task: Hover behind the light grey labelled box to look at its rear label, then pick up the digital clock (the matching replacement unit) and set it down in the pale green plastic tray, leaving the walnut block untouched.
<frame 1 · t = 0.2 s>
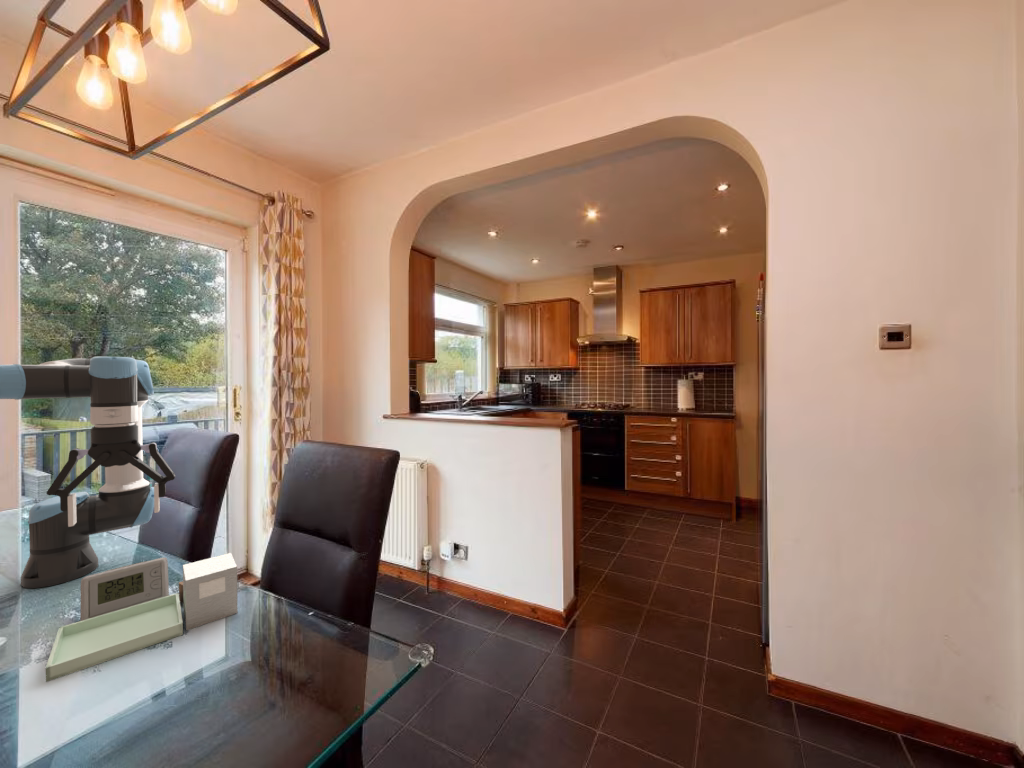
hand: (116, 517, 89), 28 cm above the table, fingers open, 13 cm apart
walnut block: (194, 599, 105), on the table
light grey labelled box: (210, 612, 99), on the table
tray: (122, 636, 89), on the table
digital clock: (127, 609, 100), on the table
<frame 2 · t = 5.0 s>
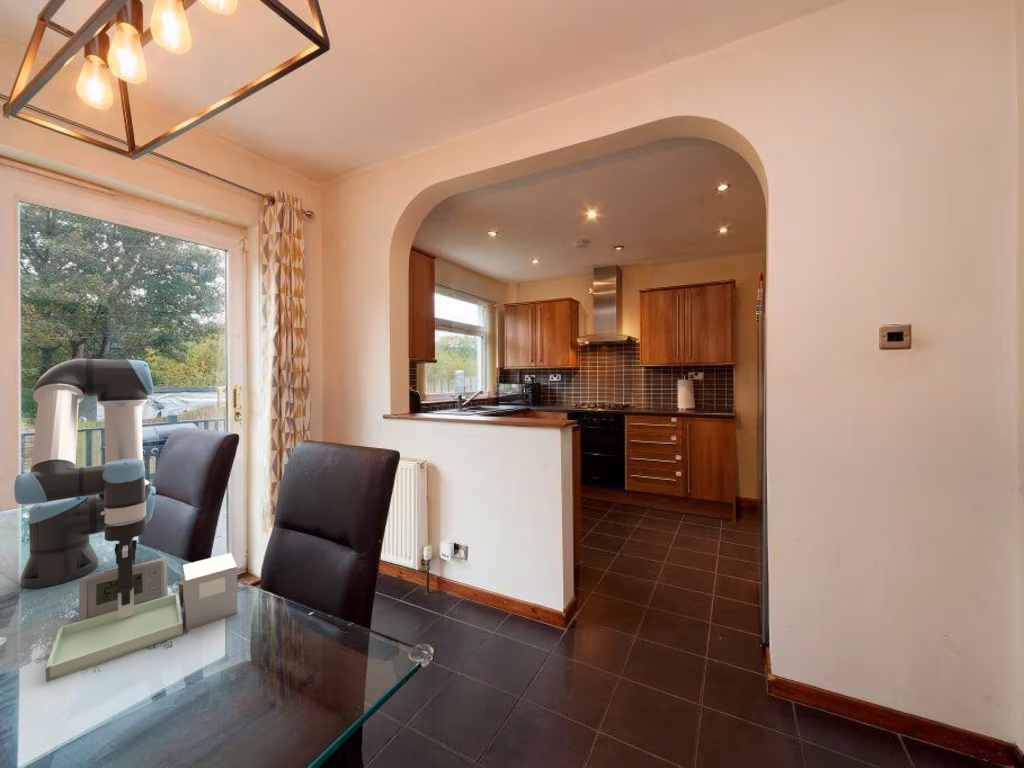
hand: (127, 606, 99), 1 cm above the table, fingers open, 11 cm apart
nothing on the table moved.
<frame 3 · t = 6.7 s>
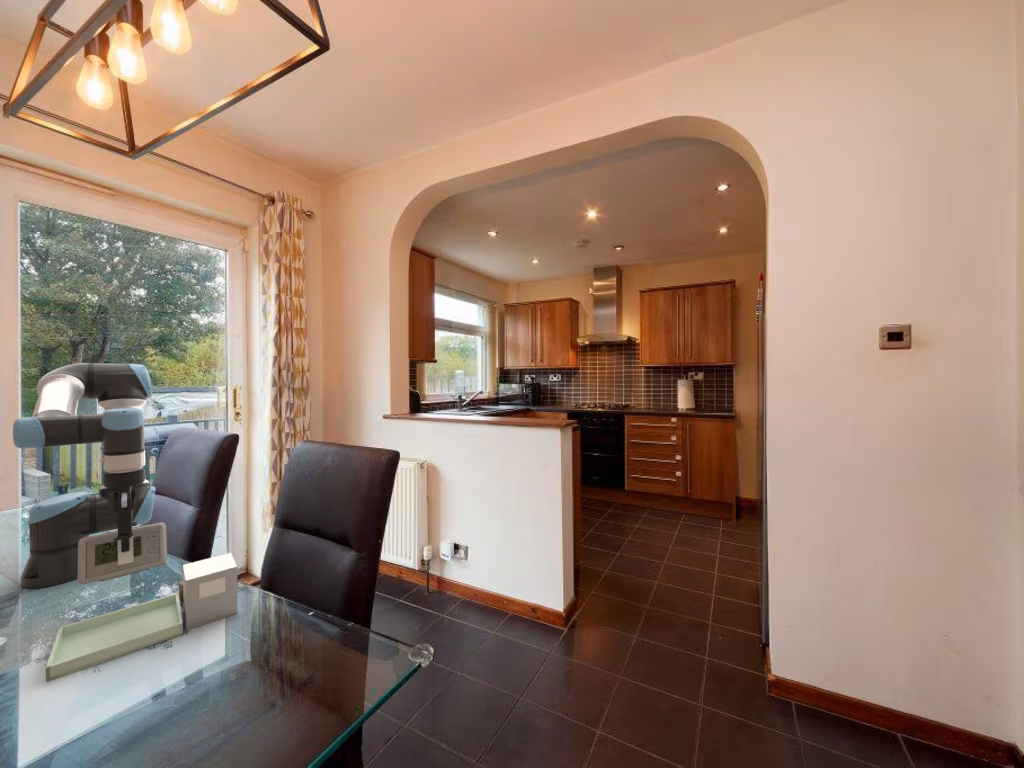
hand: (126, 557, 100), 13 cm above the table, fingers closed on digital clock, 6 cm apart
digital clock: (125, 573, 99), point 10 cm above the table, touching gripper
everything else where it was.
when the fingers open (2 cm above the table, at t = 10.6 s): digital clock stays where it is, resting on tray.
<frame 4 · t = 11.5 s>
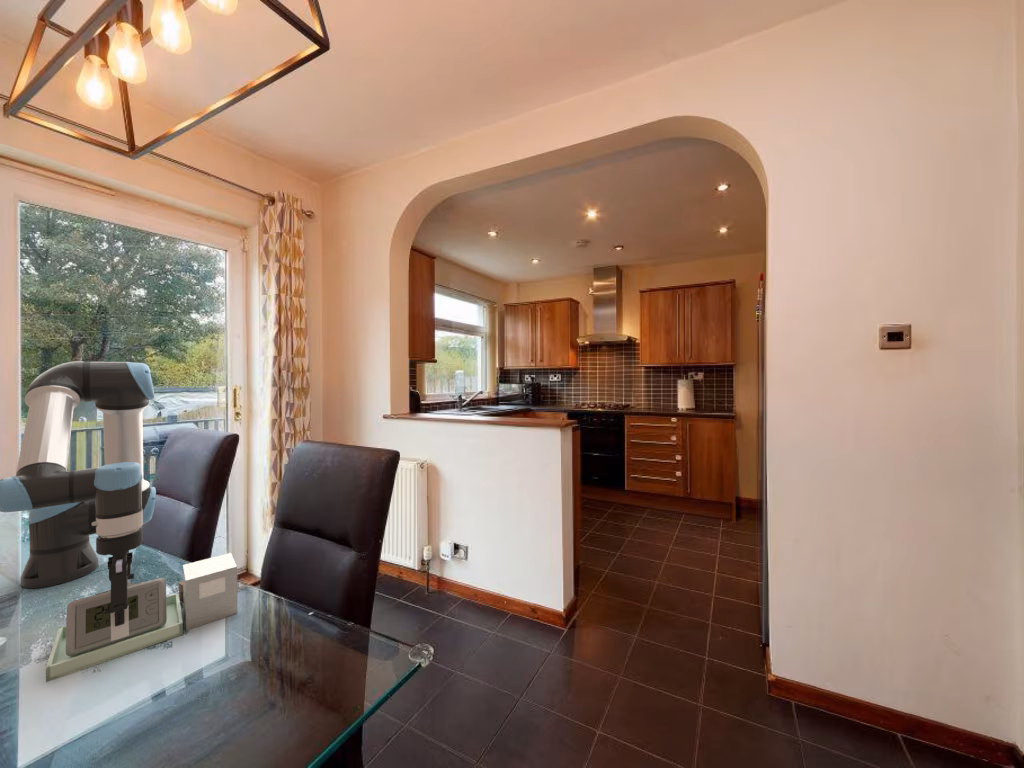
hand: (121, 622, 89), 3 cm above the table, fingers open, 13 cm apart
digital clock: (119, 637, 89), resting on tray
everything else where it was.
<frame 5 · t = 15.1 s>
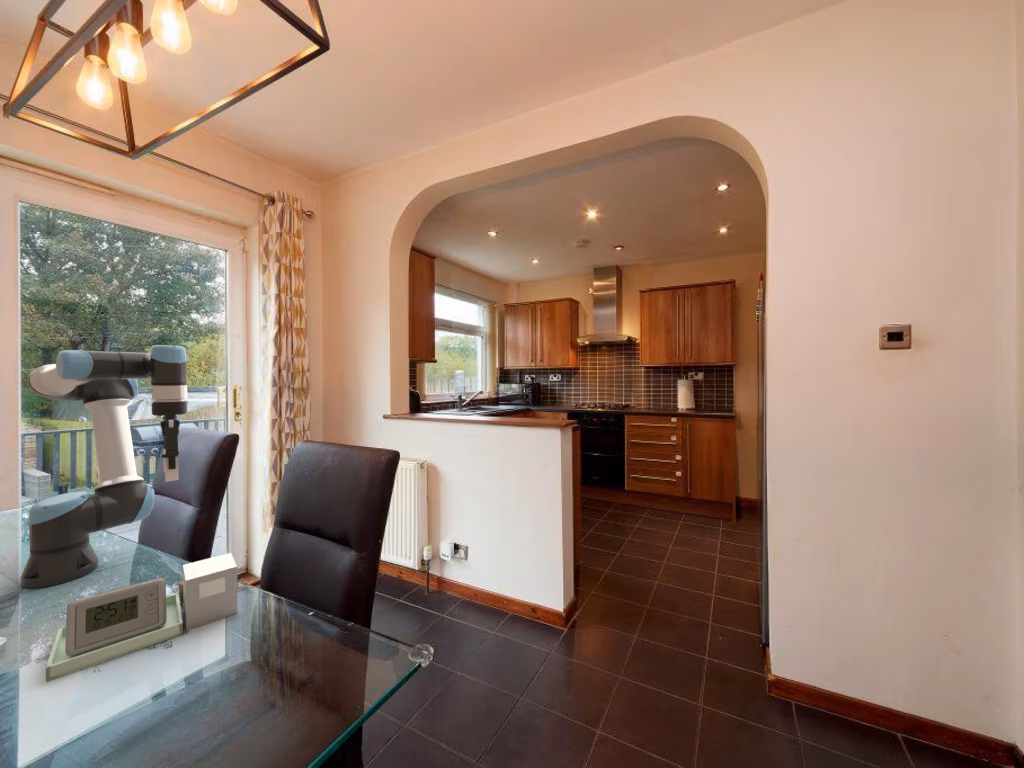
hand: (170, 475, 110), 32 cm above the table, fingers open, 13 cm apart
nothing on the table moved.
at the end: digital clock inside the target area on the tray (1.0 cm from its centre), point 0.4 cm above the tray's base; digital clock tilted 0°; the gripper is holding nothing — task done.
